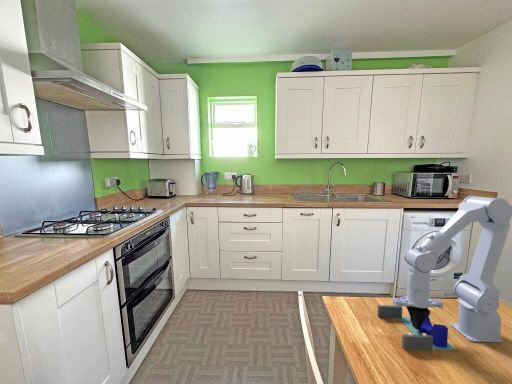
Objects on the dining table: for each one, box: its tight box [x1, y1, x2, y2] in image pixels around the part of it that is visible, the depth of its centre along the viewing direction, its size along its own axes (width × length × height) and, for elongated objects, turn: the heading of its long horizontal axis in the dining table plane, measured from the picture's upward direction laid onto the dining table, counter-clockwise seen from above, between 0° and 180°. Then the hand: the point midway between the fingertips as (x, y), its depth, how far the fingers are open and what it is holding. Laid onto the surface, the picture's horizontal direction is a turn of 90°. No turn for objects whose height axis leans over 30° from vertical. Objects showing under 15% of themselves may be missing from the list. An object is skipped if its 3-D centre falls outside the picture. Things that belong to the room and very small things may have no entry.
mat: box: [398, 316, 457, 351], centre depth 73 cm, size 8×15×1 cm, turn 177°
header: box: [376, 303, 434, 352], centre depth 73 cm, size 8×16×5 cm, turn 177°
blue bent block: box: [409, 315, 449, 348], centre depth 72 cm, size 12×4×6 cm, turn 169°
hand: (416, 327), depth 73 cm, fingers closed
